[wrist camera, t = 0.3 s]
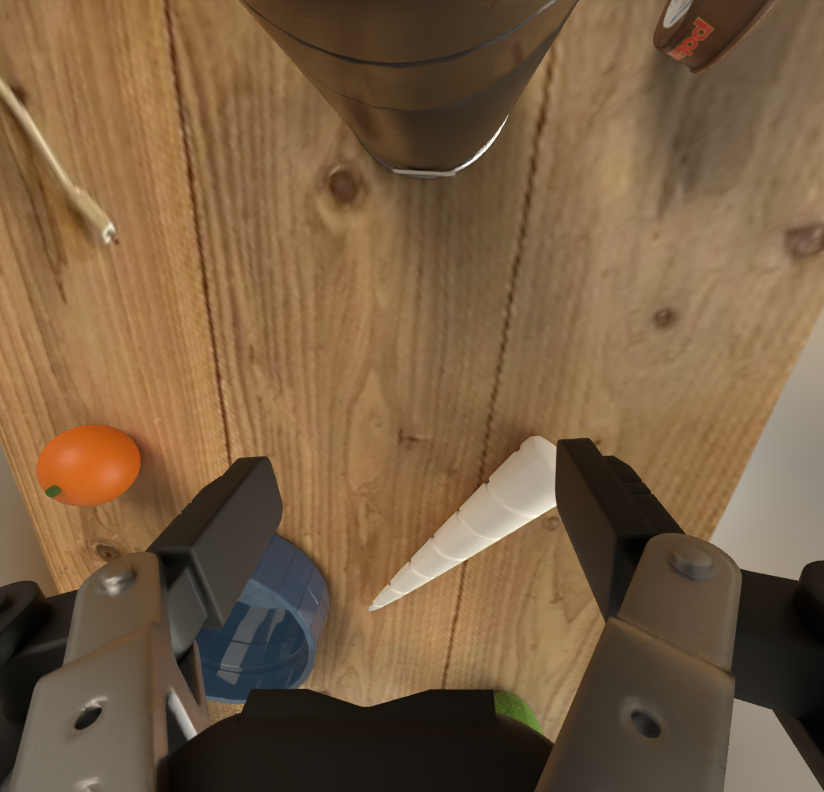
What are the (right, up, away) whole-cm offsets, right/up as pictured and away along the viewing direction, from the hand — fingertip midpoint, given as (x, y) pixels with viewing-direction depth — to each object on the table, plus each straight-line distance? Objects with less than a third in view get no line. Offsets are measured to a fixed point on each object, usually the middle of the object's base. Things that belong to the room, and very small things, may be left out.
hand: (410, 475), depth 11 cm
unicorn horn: (+4, -9, +23) cm, 25 cm away
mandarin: (-24, -3, +18) cm, 30 cm away
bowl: (-16, -16, +27) cm, 35 cm away
